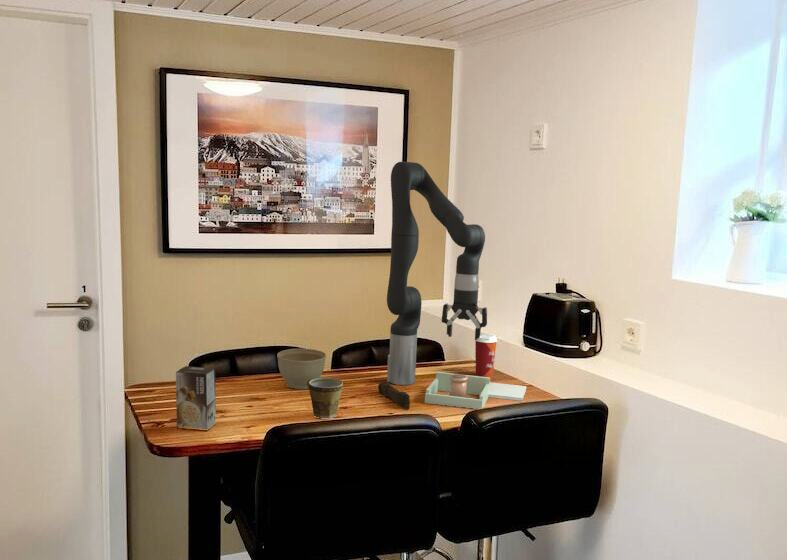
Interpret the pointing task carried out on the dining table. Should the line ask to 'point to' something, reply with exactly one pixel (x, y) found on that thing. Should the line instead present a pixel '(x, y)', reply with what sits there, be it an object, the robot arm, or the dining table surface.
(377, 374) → the dining table surface
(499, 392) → the pale green square plate
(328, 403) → the ceramic cup
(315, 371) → the planter bowl
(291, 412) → the dining table surface
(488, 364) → the coffee cup
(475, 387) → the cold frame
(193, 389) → the coffee box
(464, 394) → the lidded jar
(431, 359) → the dining table surface
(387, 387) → the hand tool
